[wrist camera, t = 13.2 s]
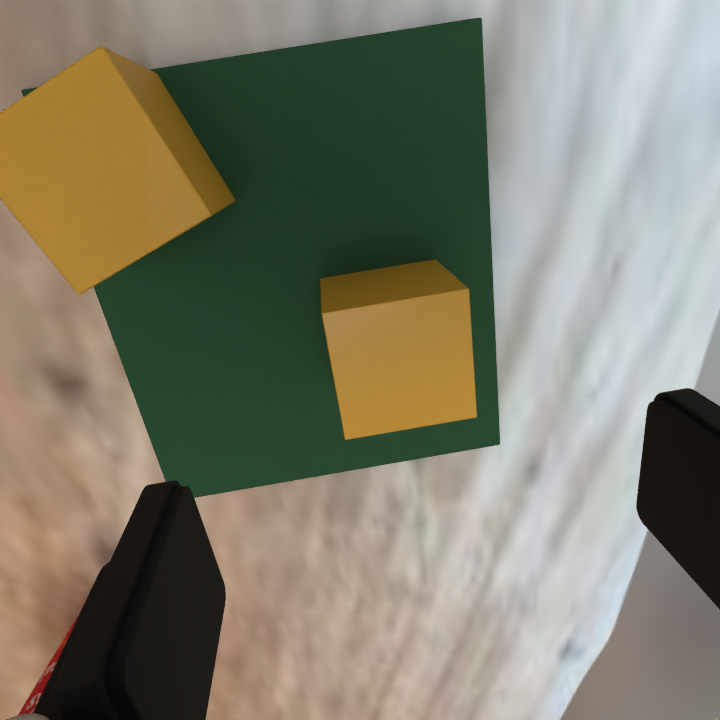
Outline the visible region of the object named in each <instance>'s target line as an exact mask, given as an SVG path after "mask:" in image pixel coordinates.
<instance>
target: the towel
mask: <svg viewBox="0 0 720 720" xmlns="http://www.w3.org/2000/svg"><path fill="white" fill-rule="evenodd" d="M151 71H153V72H155V73H157V74H158V76H159V77H160V79H161V81H162V82H163V84H164V85H165V87H166V89H167V90H168V92H169V93H170V95H171V97H172V98H173V100H174V102H175V103H176V105H177V106H178V108H179V110H180V111H181V113H182V114H183V116H184V118H185V119H186V121H187V122H188V124H189V126H190V127H191V129H192V131H193V132H194V134H195V135H196V137H197V139H198V140H199V142H200V143H201V145H202V147H203V148H204V150H205V151H206V153H207V155H208V156H209V158H210V160H211V161H212V163H213V164H214V166H215V168H216V169H217V171H218V172H219V174H220V176H221V177H222V179H223V180H224V182H225V184H226V185H227V187H228V189H229V190H230V192H231V193H232V195H233V197H234V198H235V200H236V201H235V202H234V203H232V204H231V205H229V206H227V207H226V208H224V209H222V210H221V211H219V212H217V213H216V214H214V215H212V216H211V217H209V218H207V219H206V220H204V221H202V222H201V223H199V224H197V225H196V226H194V227H192V228H191V229H189V230H187V231H186V232H184V233H182V234H181V235H179V236H177V237H176V238H174V239H172V240H171V241H169V242H167V243H166V244H164V245H162V246H160V247H159V248H157V249H155V250H154V251H152V252H150V253H149V254H147V255H145V256H144V257H142V258H140V259H139V260H137V261H135V262H134V263H132V264H130V265H129V266H127V267H125V268H124V269H122V270H120V271H119V272H117V273H115V274H114V275H112V276H110V277H109V278H107V279H105V280H103V281H102V282H100V283H98V284H97V285H95V286H94V288H95V291H96V294H97V297H98V299H99V302H100V305H101V307H102V310H103V313H104V316H105V318H106V321H107V324H108V326H109V329H110V332H111V334H112V337H113V340H114V343H115V345H116V348H117V351H118V353H119V356H120V359H121V361H122V364H123V367H124V370H125V372H126V375H127V378H128V380H129V383H130V386H131V389H132V391H133V394H134V397H135V399H136V402H137V405H138V407H139V410H140V413H141V416H142V418H143V421H144V424H145V426H146V429H147V432H148V435H149V437H150V440H151V443H152V445H153V448H154V451H155V453H156V456H157V459H158V462H159V464H160V467H161V470H162V472H163V475H164V478H165V481H166V482H168V481H174V480H176V481H178V482H179V483H180V485H181V487H182V486H189V487H190V489H191V491H192V494H193V497H194V498H195V497H201V496H207V495H212V494H218V493H224V492H230V491H235V490H241V489H247V488H252V487H258V486H264V485H270V484H275V483H281V482H287V481H293V480H298V479H304V478H310V477H316V476H321V475H327V474H333V473H339V472H344V471H350V470H356V469H362V468H367V467H373V466H379V465H385V464H390V463H396V462H402V461H408V460H413V459H419V458H425V457H431V456H436V455H442V454H448V453H454V452H459V451H465V450H471V449H477V448H482V447H488V446H494V445H499V444H500V434H499V411H498V388H497V364H496V341H495V318H494V295H493V272H492V248H491V225H490V202H489V179H488V156H487V132H486V109H485V86H484V63H483V40H482V19H481V18H475V19H468V20H462V21H456V22H449V23H443V24H437V25H430V26H424V27H418V28H411V29H405V30H399V31H392V32H386V33H380V34H373V35H367V36H361V37H354V38H348V39H342V40H335V41H329V42H323V43H316V44H310V45H303V46H297V47H291V48H284V49H278V50H272V51H265V52H259V53H253V54H246V55H240V56H234V57H227V58H221V59H215V60H208V61H202V62H196V63H189V64H183V65H177V66H170V67H164V68H157V69H151ZM37 88H38V87H37ZM37 88H31V89H24V90H22V94H23V96H24V97H25V96H26V95H28V94H29V93H31V92H32V91H34V90H35V89H37ZM434 259H436V260H437V261H438V262H439V263H440V264H441V265H443V266H444V267H445V268H446V269H447V270H448V271H449V272H451V273H452V274H453V275H454V276H455V277H456V278H457V279H458V280H460V281H461V282H462V283H463V284H464V285H465V286H466V287H467V288H469V297H470V313H471V329H472V345H473V361H474V377H475V394H476V410H477V417H476V418H470V419H464V420H458V421H452V422H447V423H441V424H435V425H429V426H423V427H418V428H412V429H406V430H400V431H394V432H388V433H383V434H377V435H371V436H365V437H359V438H354V439H348V440H345V437H344V432H343V426H342V421H341V416H340V410H339V405H338V399H337V394H336V389H335V383H334V378H333V373H332V367H331V362H330V357H329V351H328V346H327V340H326V335H325V330H324V324H323V319H322V313H321V286H320V279H321V278H325V277H331V276H337V275H343V274H349V273H355V272H361V271H367V270H373V269H380V268H386V267H392V266H398V265H404V264H410V263H416V262H422V261H428V260H434Z"/></svg>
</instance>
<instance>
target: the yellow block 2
mask: <svg viewBox="0 0 720 720" xmlns="http://www.w3.org/2000/svg"><path fill="white" fill-rule="evenodd" d="M320 286H321V313H322V319H323V324H324V330H325V335H326V340H327V346H328V351H329V357H330V362H331V367H332V373H333V378H334V383H335V389H336V394H337V399H338V405H339V410H340V416H341V421H342V426H343V432H344V437H345V440H348V439H354V438H359V437H365V436H371V435H377V434H383V433H388V432H394V431H400V430H406V429H412V428H418V427H423V426H429V425H435V424H441V423H447V422H452V421H458V420H464V419H470V418H476V417H477V410H476V394H475V377H474V361H473V345H472V329H471V313H470V297H469V288H467V287H466V286H465V285H464V284H463V283H462V282H461V281H460V280H458V279H457V278H456V277H455V276H454V275H453V274H452V273H451V272H449V271H448V270H447V269H446V268H445V267H444V266H443V265H441V264H440V263H439V262H438V261H437V260H436V259H434V260H428V261H422V262H416V263H410V264H404V265H398V266H392V267H386V268H380V269H373V270H367V271H361V272H355V273H349V274H343V275H337V276H331V277H325V278H321V279H320Z"/></svg>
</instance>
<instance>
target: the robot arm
mask: <svg viewBox="0 0 720 720" xmlns="http://www.w3.org/2000/svg"><path fill="white" fill-rule="evenodd" d="M637 512H638V515H639V517H640V519H641V521H642V522H643V524H644V525H645V526H646V527H647V528H648V529H649V531H650V532H651V533H652V534H653V535H654V536H655V537H656V538H657V539H658V541H659V542H660V543H661V544H662V545H663V546H664V547H665V548H666V550H667V551H668V552H669V553H670V554H671V555H672V556H673V557H674V559H675V560H676V561H677V562H678V563H679V564H680V565H681V566H682V568H683V569H684V570H685V571H686V572H687V573H688V574H689V575H690V577H691V578H692V579H693V580H694V581H695V582H696V583H697V584H698V586H699V587H700V588H701V589H702V590H703V591H704V592H705V593H706V594H707V596H708V597H709V598H710V599H711V600H712V601H713V602H714V603H715V604H716V606H717V607H718V608H719V609H720V406H718V405H717V404H715V403H714V402H712V401H710V400H709V399H707V398H706V397H704V396H703V395H701V394H699V393H698V392H696V391H695V390H692V389H689V388H685V389H680V390H674V391H669V392H663V393H659V394H658V395H656V397H655V398H654V402H651V403H650V404H649V405H648V408H647V416H646V425H645V433H644V442H643V451H642V460H641V469H640V478H639V486H638V495H637ZM225 600H226V593H225V585H224V581H223V579H222V576H221V573H220V570H219V567H218V564H217V562H216V559H215V556H214V553H213V550H212V547H211V545H210V542H209V539H208V536H207V533H206V530H205V528H204V525H203V522H202V519H201V516H200V513H199V511H198V508H197V505H196V502H195V499H194V497H193V494H192V491H191V489H190V487H189V486H182V487H181V485H180V483H179V482H178V481H176V480H174V481H168V482H162V483H157V484H151V485H147V486H145V488H144V489H143V491H142V493H141V495H140V498H139V500H138V502H137V504H136V506H135V508H134V511H133V513H132V515H131V517H130V519H129V521H128V524H127V526H126V528H125V530H124V532H123V534H122V537H121V539H120V541H119V543H118V545H117V547H116V550H115V552H114V554H113V556H112V558H111V560H110V562H109V563H107V564H106V565H105V566H103V568H102V569H101V571H100V573H99V574H98V576H97V578H96V581H95V583H94V585H93V587H92V589H91V591H90V593H89V595H88V597H87V600H86V602H85V604H84V606H83V608H82V610H81V612H80V614H79V616H78V618H77V621H76V623H75V625H74V627H73V629H72V631H71V633H70V635H69V637H68V640H67V642H66V644H65V646H64V648H63V650H62V652H61V654H60V656H59V659H58V661H57V663H56V665H55V667H54V669H53V671H52V673H51V675H50V678H49V680H48V682H47V684H46V686H45V688H44V690H43V692H42V694H41V696H40V699H39V701H38V703H37V705H36V707H35V709H34V711H33V713H30V714H21V715H17V716H14V717H12V718H9V719H7V720H205V719H206V713H207V707H208V701H209V695H210V690H211V684H212V678H213V672H214V666H215V660H216V654H217V648H218V642H219V637H220V631H221V625H222V619H223V613H224V607H225ZM714 720H720V718H719V719H714Z"/></svg>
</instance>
